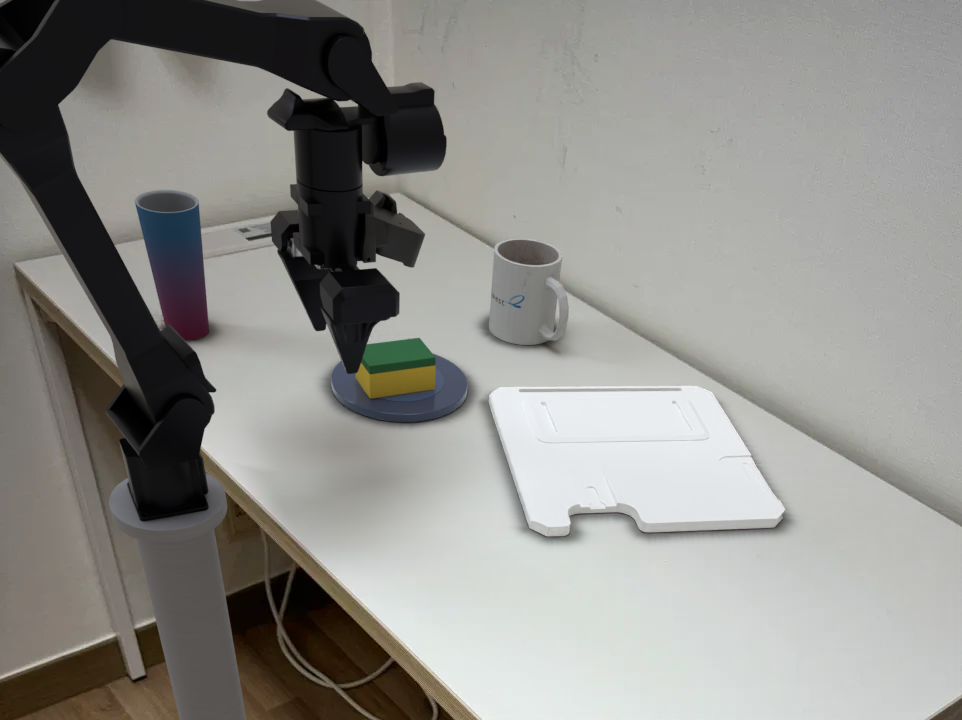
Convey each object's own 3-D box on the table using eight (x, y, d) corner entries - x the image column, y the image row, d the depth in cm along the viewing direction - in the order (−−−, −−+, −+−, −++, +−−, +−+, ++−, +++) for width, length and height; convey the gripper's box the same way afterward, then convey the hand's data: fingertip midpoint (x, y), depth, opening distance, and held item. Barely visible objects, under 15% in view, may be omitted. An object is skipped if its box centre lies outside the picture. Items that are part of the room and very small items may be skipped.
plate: (358, 431, 109) (358, 423, 108) (313, 364, 118) (312, 355, 117) (488, 410, 115) (489, 402, 114) (436, 347, 124) (436, 340, 123)
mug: (477, 319, 130) (482, 242, 123) (533, 311, 134) (541, 235, 127) (521, 362, 124) (528, 282, 116) (579, 352, 127) (589, 274, 120)
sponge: (370, 399, 112) (369, 366, 109) (355, 378, 115) (354, 345, 112) (435, 389, 115) (435, 357, 112) (419, 369, 118) (419, 337, 115)
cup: (190, 313, 124) (170, 185, 113) (228, 331, 121) (211, 203, 110) (146, 329, 119) (121, 198, 109) (184, 349, 117) (162, 217, 106)
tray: (787, 526, 104) (791, 515, 103) (532, 537, 98) (533, 524, 97) (705, 394, 123) (708, 383, 122) (486, 396, 117) (487, 384, 116)
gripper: (457, 215, 83) (448, 385, 95) (377, 141, 94) (377, 302, 105) (332, 223, 79) (338, 401, 90) (262, 145, 90) (275, 313, 101)
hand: (335, 351), depth 97 cm, fingers open, 9 cm apart
